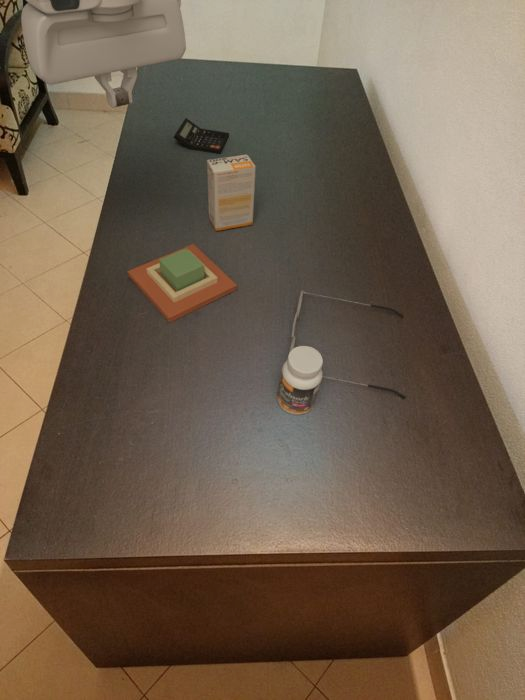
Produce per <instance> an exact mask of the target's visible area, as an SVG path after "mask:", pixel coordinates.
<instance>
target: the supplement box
mask: <svg viewBox="0 0 525 700" xmlns="http://www.w3.org/2000/svg"><path fill="white" fill-rule="evenodd" d="M256 169H257V168H256V165H255V163H254V162H253V161H252V159H251V158H250V156H249V155H248V154H240V155H234V156H227V157H219V158H210V159H207V160H206V172H207V173H206V174H207V198H208V200H207V201H208V219H209V222H210V223H211V225H212V226H213V229H214V230H215V232H220V231H226V230H230V229H236V228H240V227H246V226H251V225H253V224H254V205H255V186H256V185H255V184H256Z"/></svg>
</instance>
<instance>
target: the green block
mask: <svg viewBox="0 0 525 700" xmlns="http://www.w3.org/2000/svg"><path fill="white" fill-rule="evenodd" d="M159 263H160V271H161V276H162V277H163V278H164V279H165V280H166V281H167V282H168V283H169V284H170V285H171V286H172V287H173V288H174V289H175V290H176V292H177V291H179V290H182V289H184V288H186V287H188V286H190V285H192V284H195V283H197V282H199V281H201V280H203V279H205V276H204V265H203V264H202V263H201V262H200V261H199V260H198V259H197V258H196V257H195V256H194V255H193V254H192V253H191V252H190V251H189V250H188V249H187V248H186V249H183V250H181V251H179V252H176V253H174V254H171V255H169V256H167V257H164V258H162V259H159Z"/></svg>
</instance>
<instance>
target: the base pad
mask: <svg viewBox="0 0 525 700" xmlns="http://www.w3.org/2000/svg"><path fill="white" fill-rule="evenodd" d="M186 248H187V249H188V250H189V251H190V252H191V253H192V254H193V255H194V256H195V257H196V258H197V259H198V260H199V261H200V262H201V263H202V264H203V265H204V276H205V279H203V280H201V281H199V282H197V283H195V284H192V285H190V286H188V287H186V288H184V289H182V290H179V291H177V292H176V290H175V289H174V288H173V287H172V286H171V285H170V284H169V283H168V282H167V281H166V280H165V279H164V278H163V277H162V276H161V271H160V263H159V259H162V258H164V257H167V256H169V255H171V254H174V253H176V252H179V251H181V250H183V249H186ZM127 276H128V277H129V278H130V280H131V281H132V282H133V283H134V284H135V285H136V287H137V288H138V289H139V290H140V291H141V292H142V293H143V294H144V295H145V296H146V298H147V299H148V300H149V301H150V302H151V303H152V304H153V306H154V307H155V308H156V309H157V310H158V311H159V312H160V313H161V315H162V317H164V318H165V319H166V320H167V321H168V322H169V323H172V322H174V321H177V320H178V319H180V318H182V317H184V316H186V315H188V314H190V313H192V312H195V311H196V310H199V309H200V308H203V307H205V306H207V305H209V304H211V303H213V302H215V301H217V300H219V299H221V298H223V297H226V296H227V295H229V294H231V293H233V292H235V291H237V290H238V284H236V283H235V282H234V281H233V280H232V279H231V278H230V276H228V275H227V274H226V273H225V272H224V271H223V270H222V269H221V268H220V267H218V265H216V264H215V263H214V261H212V260H211V259H210V258H209V257H208V256H207V255H206V253H204V252H203V251H202V250H201V249H199V248H198V247H197V246H196V245H195V243H192V244H190V245H187V246H185V247H182V248H180V249H177V250H175V251H173V252H170V253H168V254H165V255H163V256H161V257H158V258H156V259H154V260H151V261H148V262H146V263H144V264H142V265H139V266H137V267H134V268H132V269H130V270H127Z"/></svg>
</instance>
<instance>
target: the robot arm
mask: <svg viewBox="0 0 525 700" xmlns="http://www.w3.org/2000/svg"><path fill="white" fill-rule="evenodd" d="M25 1H26V2H27V3H26V4H25V5H24V6H23V8H22V11H21V17H20V21H21V29H22V30H21V31H22V38H23V41H24V47H25V48H24V49H25V52H26V57H27V60H28V63H29V66H30V69H31V70H32V72H33V74H34V75H35V76H36V77H38V79H40V80H41V81H42V82H44V83H45V84H47V85H50V86H51V85H52V86H53V85H57V84H61V83H67V82H72V81H77V80H82V79H86V78H91V77H94V79H95V80H96V81H97V83H98V84H99V85H100V86H101V88H102V90H104V91H105V95H106V101H107V104H108V106H109V107H111V108H112V109H114V108H118V107H122V106H123V107H124V106H127V105H131V104H133V103H134V102H133V94H132V92H133V90H134V86H135V84H136V81H137V78H138V72H137V71H138V70H137V69H138V68H141V67H147V66H152V65H157V64H161V63H166V62H171V61H176V60H177V61H178V60H181V59H183V57H184V54H185V52H186V50H187V42H186V33H185V26H184V21H183V16H182V15H183V14H182V10H181V5H182V0H25ZM118 72H120V73H121V74H123V76H122V79H121V82H120V86H119V87H116V88H113V87H112V86H111V84H110V82H112V73H118Z"/></svg>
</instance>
